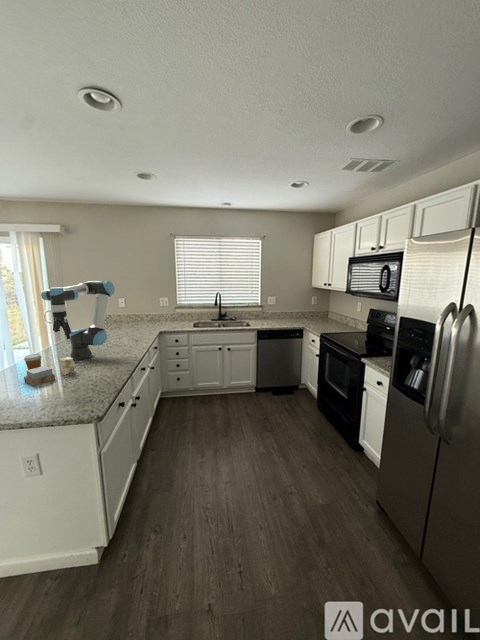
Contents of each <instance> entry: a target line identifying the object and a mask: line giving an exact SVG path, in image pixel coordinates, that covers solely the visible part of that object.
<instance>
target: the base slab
mask: <svg viewBox="0 0 480 640" xmlns="http://www.w3.org/2000/svg"><path fill="white" fill-rule="evenodd" d="M23 380H24V382H25V383H26V384H28V385H30V386H31V387H35V386H39V385H42V384H45V382H46V383H48V382H51V381H55V380H56V376H55V374H54V373H53V375H49V376H46V377H42V378H39V379H36V380H33V379H31V378H29V377H27V375H26V376H24V377H23Z"/></svg>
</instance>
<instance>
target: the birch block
mask: <svg viewBox="0 0 480 640" xmlns="http://www.w3.org/2000/svg"><path fill="white" fill-rule="evenodd" d="M58 363H59V370H60V374H62V375H64V376H66V374H67V375H70V374H73V373H75V366H74V365H75V364H74V360H73V358H71V357H70V356H66V357H63V358H62V357H61V358H58ZM69 373H70V374H69Z"/></svg>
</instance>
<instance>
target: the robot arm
mask: <svg viewBox="0 0 480 640" xmlns="http://www.w3.org/2000/svg"><path fill="white" fill-rule="evenodd" d="M115 289H116V288H115V286H114V284H113V282H111V281H110V280H89V281H85V282H81V283H78V284H76V285H70V286H64V287H50V288H49V289H43V290H42V291H41V292H40V293H41V294H40V295H41V299H43V300H44V301H48V302H49V301H50V304H51V307H50V308H51V311H52V317H53V325H52V326H53V327H52V331H54V336H55V342H56V343H57V342H61V341H62V337H61V330H60V329H61V328H62V331H63V333H64V334H63V335H64V339H65V340H64V341H65V345H70V346H71V352H70V355H69V357H71V358H73V361H83V360H86V359H90V358H92V357H93V353H92V351H91V349H90V347H89V346H95V347H96V346H103V344H105V343H106V341H107V339H108V333H107V332H106V330H105V328H104V326H105V325H104V323H105V318H106V313H107V307H108V300H109V299H111V296H112V295H114V293H115V292H116V291H115ZM79 295H83V296H84V295H93V296H94V297H95V302H94V309H93V313H92V319H91V325H90V326H89V327H88V329H87V328H86V327H82V328H77V329H73V330H71V327H70V324H69V321H68V318H66V317H68V316H67V311H66V310H67V305H66V302H71V301H75V300H77V299H78V298H79Z"/></svg>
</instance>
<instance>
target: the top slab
mask: <svg viewBox="0 0 480 640" xmlns="http://www.w3.org/2000/svg"><path fill="white" fill-rule="evenodd" d="M25 373H26V376H27V377H29V378H31V379H33V380H36V379H39V378H42V377H46V376H49V375H53V374H54V373H53V369H52V368H51V367H49V366H46V365H41V367H38V368H34V369H30V370H28V369H27V370H26V372H25Z"/></svg>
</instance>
